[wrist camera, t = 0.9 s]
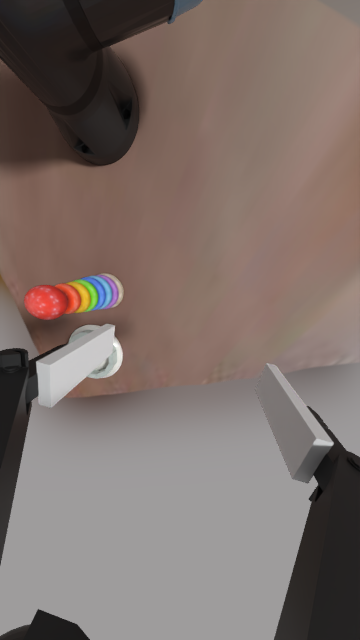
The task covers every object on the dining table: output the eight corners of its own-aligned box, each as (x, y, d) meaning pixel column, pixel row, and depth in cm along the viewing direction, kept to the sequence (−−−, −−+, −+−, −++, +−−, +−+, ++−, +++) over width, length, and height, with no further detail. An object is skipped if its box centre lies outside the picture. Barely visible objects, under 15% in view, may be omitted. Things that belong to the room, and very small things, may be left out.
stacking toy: (100, 266, 40) (12, 260, 22) (130, 284, 40) (68, 292, 22) (88, 296, 42) (1, 313, 24) (117, 313, 42) (51, 342, 24)
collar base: (59, 337, 46) (51, 341, 44) (103, 315, 43) (97, 317, 40) (89, 383, 49) (83, 389, 46) (133, 365, 45) (128, 371, 43)
